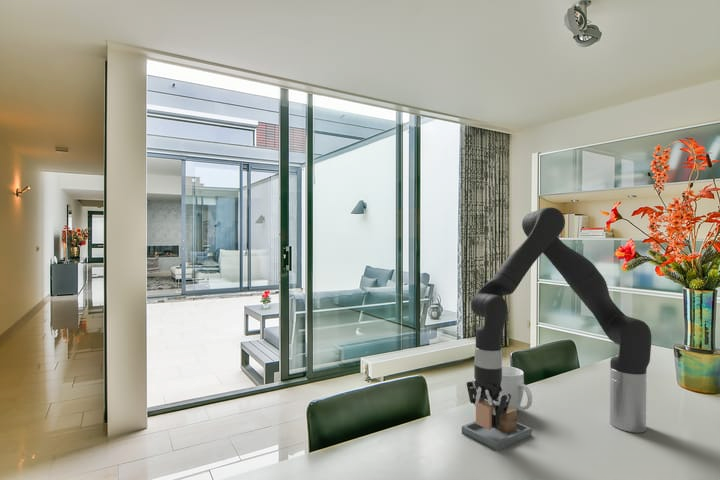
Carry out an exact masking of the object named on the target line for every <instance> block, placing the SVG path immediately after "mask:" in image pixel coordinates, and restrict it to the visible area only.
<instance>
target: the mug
mask: <svg viewBox="0 0 720 480" xmlns="http://www.w3.org/2000/svg"><path fill="white" fill-rule="evenodd" d="M524 374H525V373H524V371H523V370H522V369H520V368H517V367H513V366H509V365H502V381H501V388H502V391H503V392H504V393H505V394H510V395H511V398H510V402H509V405H508V406H509V407H511V408H514V409H516V410H517V411H518V410H522V411H525V410H527V409H529V408H530V407H532V403H533V395H532V391H531V390H530V388H529V387H528V386H527V385H526V384H525V382H524V381H525V378H524V377H525V375H524ZM524 391H525V393H526V396H527V403H526V405H525V406H521V404H522V402H523V396H524ZM499 400H500V395H499ZM500 401H501V400H500ZM493 402H495V400H494V401H493Z"/></svg>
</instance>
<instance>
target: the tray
mask: <svg viewBox="0 0 720 480" xmlns="http://www.w3.org/2000/svg"><path fill="white" fill-rule="evenodd" d="M461 434H463V435H464V436H466V437H469V438H470V439H472V440H473V441H474V440H475V441H477V442H478V443H480V444H482V445H484V446H486V447H488V448H489V449H492V450H493V451H495V452H498V451H500V450H502V449H504V448H506V447H508V446H511V445H513V444H514V443H517V442H519V441H522V440H523V439H527V438H528V437H530V436H532V428H531V427H529V426H527V425H524V424H522V423H520V422H518V421H517V430H516V431H513V432H511V433H509V434H506V433H504V432H502V431H499V430H497V429H495V428H492V429H490V430H488V429H486V428H484V427H482V426H480V425H478V424H476V420H475V421H472V422H469V423H467V424H464V425H461Z"/></svg>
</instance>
